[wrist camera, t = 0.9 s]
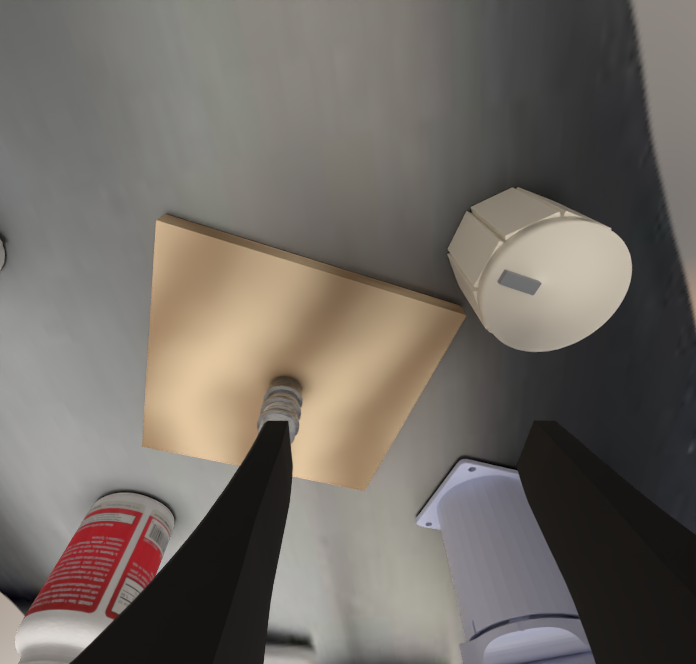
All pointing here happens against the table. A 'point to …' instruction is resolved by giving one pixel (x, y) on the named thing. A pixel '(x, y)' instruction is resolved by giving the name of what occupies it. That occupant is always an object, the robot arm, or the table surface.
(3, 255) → the photo printer
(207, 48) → the table surface
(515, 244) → the cream control knob
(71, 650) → the pill bottle
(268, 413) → the stub
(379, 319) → the stub plate
